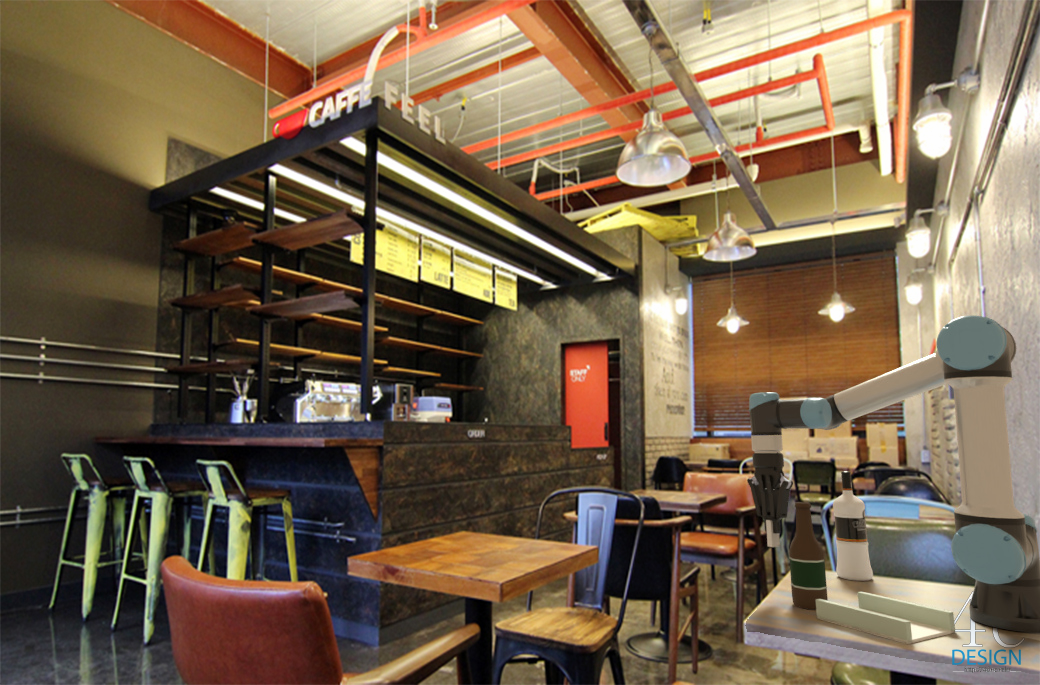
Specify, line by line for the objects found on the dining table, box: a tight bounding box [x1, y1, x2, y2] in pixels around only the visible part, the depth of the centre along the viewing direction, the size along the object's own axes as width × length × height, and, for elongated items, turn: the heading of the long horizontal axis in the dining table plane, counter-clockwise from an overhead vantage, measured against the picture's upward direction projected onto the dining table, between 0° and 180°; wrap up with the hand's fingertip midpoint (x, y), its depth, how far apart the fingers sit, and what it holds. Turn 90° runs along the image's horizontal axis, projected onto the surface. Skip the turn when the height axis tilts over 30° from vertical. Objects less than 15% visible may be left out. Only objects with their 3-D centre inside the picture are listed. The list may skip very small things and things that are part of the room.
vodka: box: [832, 470, 874, 582], centre depth 181 cm, size 9×9×30 cm
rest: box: [816, 591, 956, 645], centre depth 133 cm, size 20×16×4 cm
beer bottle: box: [788, 501, 829, 611], centre depth 150 cm, size 8×8×24 cm
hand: (773, 546), depth 159 cm, fingers closed
